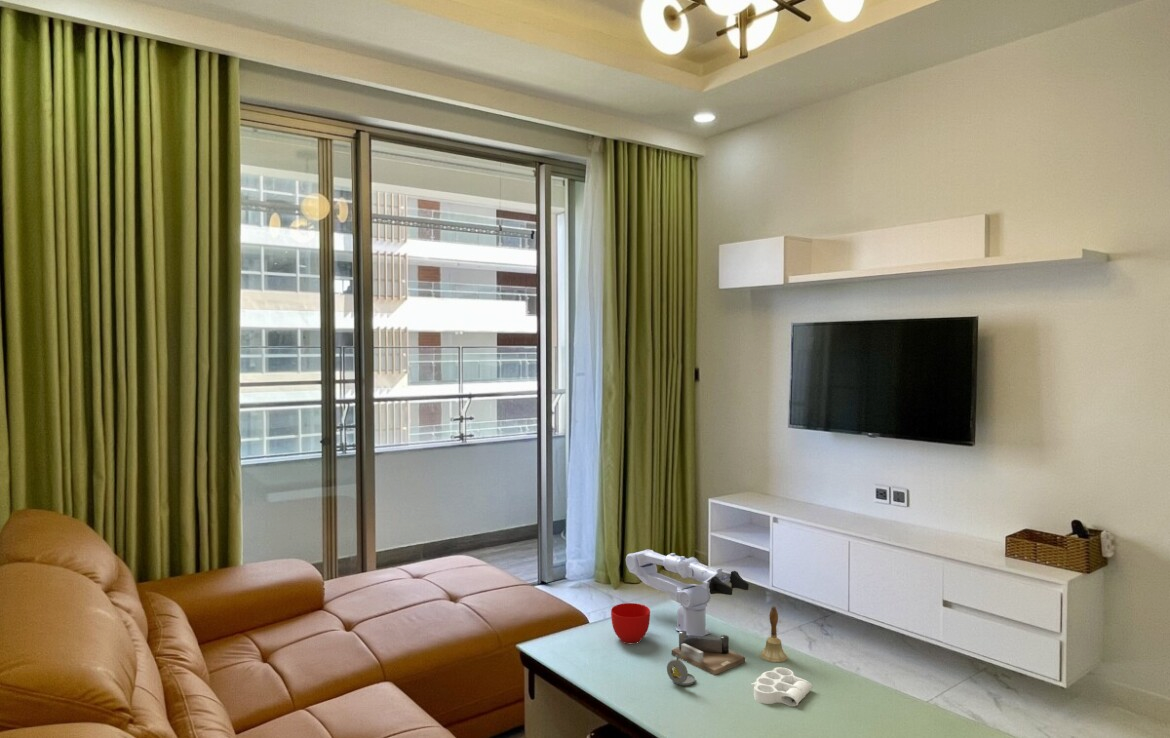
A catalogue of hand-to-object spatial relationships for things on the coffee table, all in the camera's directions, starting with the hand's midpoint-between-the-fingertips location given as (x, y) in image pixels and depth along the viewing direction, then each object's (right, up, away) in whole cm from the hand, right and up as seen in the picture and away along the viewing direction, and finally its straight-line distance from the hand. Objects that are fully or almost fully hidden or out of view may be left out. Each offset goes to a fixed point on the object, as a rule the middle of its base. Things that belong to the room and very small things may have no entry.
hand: (739, 589), depth 224 cm
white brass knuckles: (+6, -22, -24) cm, 33 cm away
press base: (-11, -21, -3) cm, 23 cm away
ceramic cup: (-33, -20, +13) cm, 41 cm away
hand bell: (+10, -21, -2) cm, 23 cm away
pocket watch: (-21, -21, -19) cm, 35 cm away
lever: (-12, -19, -1) cm, 22 cm away
